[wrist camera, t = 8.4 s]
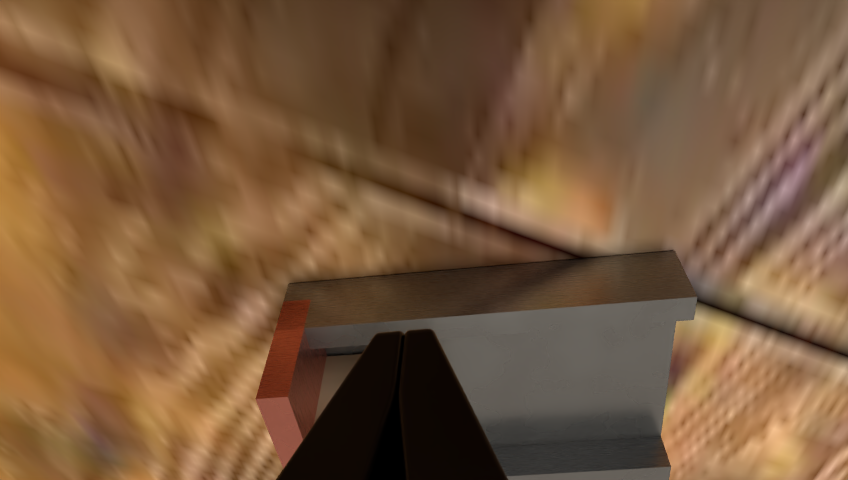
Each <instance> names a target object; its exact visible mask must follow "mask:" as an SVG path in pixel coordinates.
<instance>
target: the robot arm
mask: <svg viewBox="0 0 848 480" xmlns="http://www.w3.org/2000/svg"><path fill="white" fill-rule="evenodd" d="M276 480H508V478H507V476H506V474H505V472H504V470H503V468H502V466H501V464H500V462H499V460H498V458H497V456H496V454H495V452H494V450H493V448H492V446H491V444H490V442H489V440H488V438H487V436H486V434H485V432H484V430H483V428H482V426H481V424H480V422H479V420H478V418H477V416H476V414H475V412H474V410H473V408H472V406H471V404H470V402H469V400H468V398H467V396H466V394H465V392H464V390H463V388H462V386H461V384H460V382H459V380H458V378H457V376H456V374H455V372H454V370H453V368H452V366H451V364H450V362H449V360H448V358H447V356H446V354H445V352H444V350H443V348H442V346H441V344H440V342H439V340H438V338H437V336H436V334H435V332H434V331H433V330H432V329H417V330H408V331H407V332H406V333H405V334H404V333H403V332H401V331H391V332H379V333H377V334H375V335H374V337H373V338H372V339H371V341H370V342H369V344H368V345H367V347H366V348H365V350H364V351H363V353H362V354H361V356H360V357H359V358H358V360H357V361H356V363H355V364H354V366H353V367H352V369H351V370H350V372H349V373H348V375H347V376H346V378H345V379H344V381H343V382H342V383H341V385H340V386H339V388H338V389H337V391H336V392H335V394H334V395H333V397H332V398H331V400H330V401H329V403H328V404H327V405H326V407H325V408H324V410H323V411H322V413H321V414H320V416H319V417H318V419H317V420H316V422H315V423H314V425H313V426H312V428H311V429H310V430H309V432H308V433H307V435H306V436H305V438H304V439H303V441H302V442H301V444H300V445H299V447H298V448H297V450H296V451H295V453H294V454H293V455H292V457H291V458H290V460H289V461H288V463H287V464H286V466H285V467H284V469H283V470H282V472H281V473H280V475H279V476H278V477H277V479H276Z"/></svg>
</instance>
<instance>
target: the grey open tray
mask: <svg viewBox="0 0 848 480" xmlns="http://www.w3.org/2000/svg"><path fill="white" fill-rule="evenodd" d="M696 302H697V295H696V293H695V291H694V289H693V287H692V285H691V283H690V281H689V279H688V277H687V275H686V273H685V271H684V269H683V267H682V265H681V263H680V261H679V259H678V257H677V255H676V253H675V251H667V252H655V253H643V254H632V255H620V256H608V257H597V258H585V259H573V260H562V261H550V262H538V263H527V264H515V265H503V266H492V267H480V268H468V269H457V270H445V271H433V272H422V273H410V274H398V275H387V276H375V277H363V278H352V279H340V280H328V281H317V282H305V283H293V284H289V285H288V288H287V292H286V295H285V299H284V302H283V306H282V309H281V313H280V316H279V320H278V323H277V327H276V330H275V333H274V337H273V340H272V344H271V347H270V351H269V354H268V358H267V361H266V365H265V368H264V372H263V375H262V379H261V382H260V386H259V389H258V393H257V396H256V401H257V404H258V406H259V409H260V411H261V414H262V416H263V419H264V421H265V424H266V426H267V429H268V431H269V434H270V436H271V439H272V441H273V444H274V446H275V449H276V451H277V454H278V456H279V459H280V461H281V464H282V466H283V468H284V467H285V466H286V464H287V463H288V461H289V460H290V458H291V457H292V455H293V454H294V453H295V451H296V450H297V448H298V447H299V445H300V444H301V442H302V441H303V439H304V438H305V436H306V435H307V433H308V432H309V430H310V429H311V428H312V426H313V425H314V421H315V416H316V411H317V405H318V400H319V395H320V389H321V384H322V379H323V373H324V368H325V363H326V357H328V356H341V355H354V354H362V353H363V351H364V350H365V348H366V347H367V345H368V344H369V342H370V341H371V339H372V338H373V337H374V335H375V334H377V333H379V332H391V331H401V332H403V333H404V334H405V333H406V332H407V331H408V330H417V329H432V330H433V331H434V332H435V334H436V336H437V338H438V340H439V342H440V344H441V346H442V348H443V350H444V352H445V354H446V356H447V358H448V360H449V362H450V364H451V366H452V368H453V370H454V372H455V374H456V376H457V378H458V380H459V382H460V384H461V386H462V388H463V390H464V392H465V394H466V396H467V398H468V400H469V402H470V404H471V406H472V408H473V410H474V412H475V414H476V416H477V418H478V420H479V422H480V424H481V426H482V428H483V430H484V432H485V434H486V436H487V438H488V440H489V442H490V444H491V446H492V448H493V450H494V452H495V454H496V456H497V458H498V460H499V462H500V464H501V466H502V468H503V470H504V472H505V474H506V476H507V478H508V480H669V476H670V470H671V465H670V462H669V459H668V456H667V453H666V450H665V447H664V444H663V441H662V438H661V430H662V422H663V415H664V407H665V400H666V392H667V385H668V378H669V370H670V363H671V355H672V348H673V340H674V333H675V325H676V321H684V320H694V315H695V308H696Z"/></svg>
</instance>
